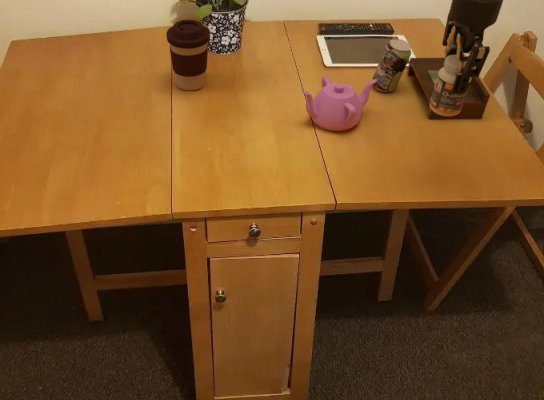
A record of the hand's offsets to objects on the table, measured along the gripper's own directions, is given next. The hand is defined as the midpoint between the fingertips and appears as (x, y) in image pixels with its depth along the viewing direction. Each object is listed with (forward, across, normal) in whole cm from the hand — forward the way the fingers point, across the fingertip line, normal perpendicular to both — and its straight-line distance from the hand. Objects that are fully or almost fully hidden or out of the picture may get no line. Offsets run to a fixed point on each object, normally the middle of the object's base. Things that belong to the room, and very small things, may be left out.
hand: (452, 82), depth 104 cm
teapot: (+20, +18, +16) cm, 31 cm away
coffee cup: (+20, +34, +48) cm, 62 cm away
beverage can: (+20, +31, +1) cm, 37 cm away
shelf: (+20, +28, -12) cm, 36 cm away
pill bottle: (+6, 0, 0) cm, 6 cm away
